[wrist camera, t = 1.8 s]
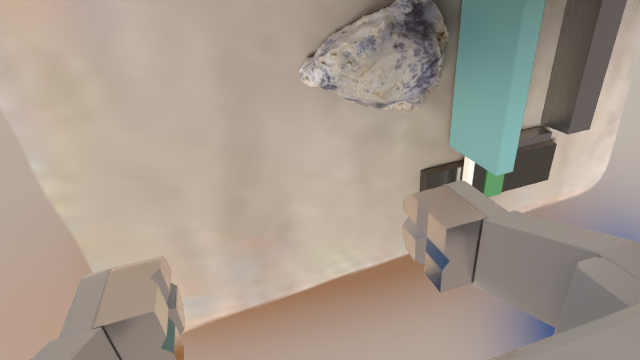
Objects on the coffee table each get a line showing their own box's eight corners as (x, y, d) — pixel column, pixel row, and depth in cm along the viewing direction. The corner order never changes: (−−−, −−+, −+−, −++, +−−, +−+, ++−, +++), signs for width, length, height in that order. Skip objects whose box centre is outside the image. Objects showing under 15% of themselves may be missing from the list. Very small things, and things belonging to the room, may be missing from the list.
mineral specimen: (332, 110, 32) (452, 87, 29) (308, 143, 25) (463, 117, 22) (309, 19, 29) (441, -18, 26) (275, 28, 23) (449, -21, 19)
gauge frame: (436, -130, 23) (466, -144, 20) (624, -139, 26) (670, -152, 24) (418, 207, 35) (436, 224, 33) (547, 173, 39) (572, 186, 36)
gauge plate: (472, -109, 24) (547, -134, 19) (491, -110, 24) (571, -135, 19) (444, 193, 35) (487, 229, 30) (458, 190, 36) (502, 224, 30)
